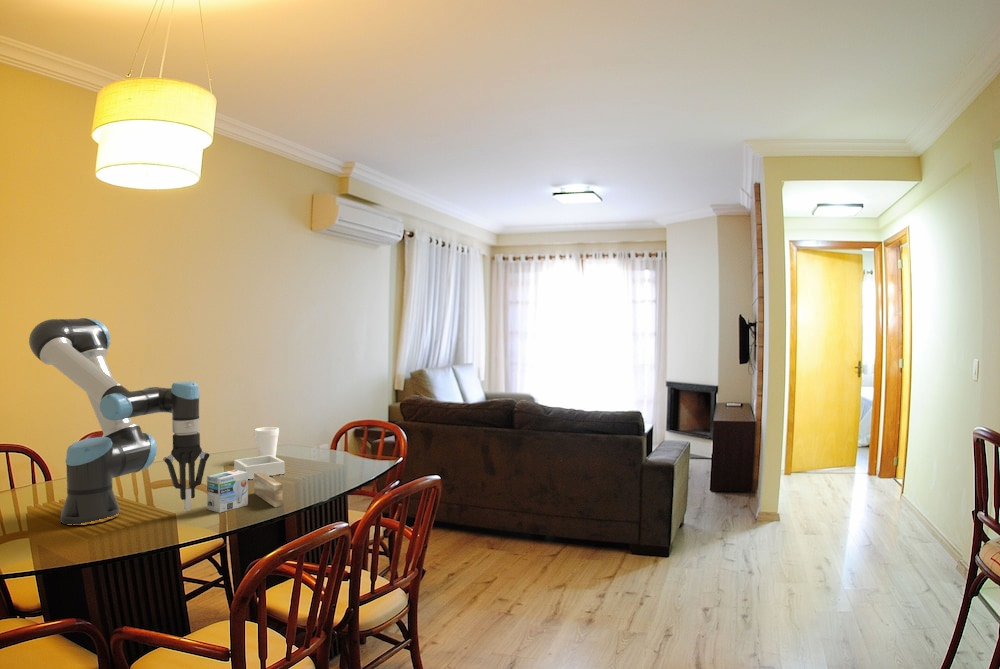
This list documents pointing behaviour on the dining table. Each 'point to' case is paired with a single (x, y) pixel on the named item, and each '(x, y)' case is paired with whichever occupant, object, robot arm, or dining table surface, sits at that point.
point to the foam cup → (266, 440)
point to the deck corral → (260, 465)
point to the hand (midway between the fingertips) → (187, 509)
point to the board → (268, 489)
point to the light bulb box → (227, 490)
